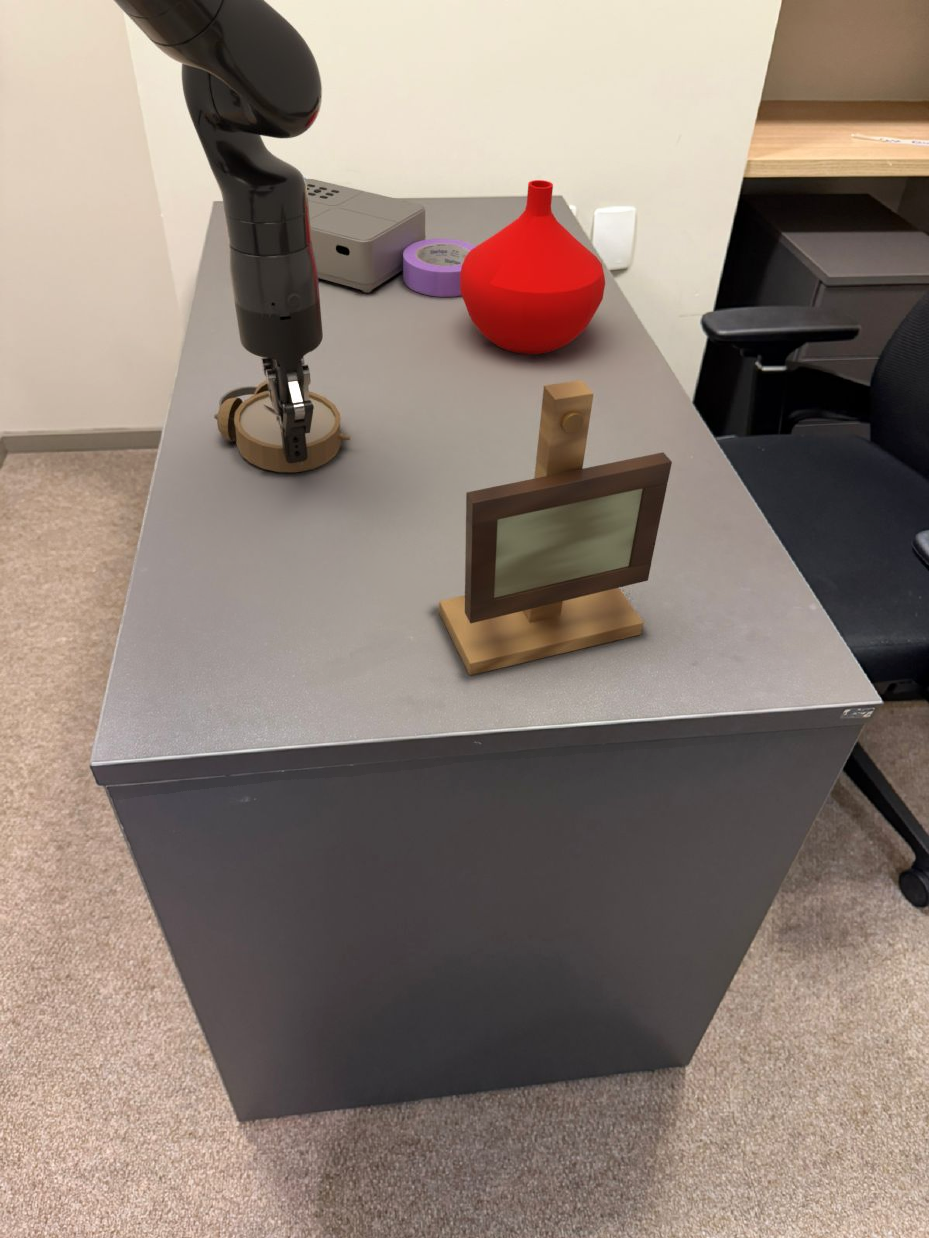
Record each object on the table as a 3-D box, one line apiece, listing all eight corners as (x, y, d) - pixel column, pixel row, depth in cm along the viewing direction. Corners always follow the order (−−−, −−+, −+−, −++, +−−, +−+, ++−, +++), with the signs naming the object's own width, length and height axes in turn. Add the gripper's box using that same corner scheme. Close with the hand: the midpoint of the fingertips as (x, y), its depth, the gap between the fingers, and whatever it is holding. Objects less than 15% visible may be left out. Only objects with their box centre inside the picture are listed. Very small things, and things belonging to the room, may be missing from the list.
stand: (469, 676, 74) (482, 436, 58) (438, 613, 80) (443, 378, 64) (640, 634, 78) (696, 401, 63) (601, 577, 84) (642, 348, 68)
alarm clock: (288, 464, 90) (188, 391, 95) (286, 500, 94) (191, 428, 99) (364, 420, 97) (267, 353, 101) (360, 455, 101) (267, 389, 105)
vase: (563, 300, 127) (579, 155, 114) (620, 360, 115) (646, 205, 102) (440, 315, 123) (442, 165, 109) (486, 379, 110) (494, 219, 97)
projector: (311, 227, 144) (306, 175, 138) (429, 257, 137) (429, 204, 131) (244, 262, 133) (237, 208, 128) (368, 297, 126) (366, 241, 120)
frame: (470, 623, 72) (472, 503, 63) (464, 612, 73) (466, 492, 64) (648, 580, 76) (672, 461, 67) (640, 570, 77) (663, 451, 68)
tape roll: (491, 295, 128) (492, 268, 125) (410, 299, 126) (410, 272, 123) (473, 262, 136) (474, 236, 133) (397, 266, 134) (397, 240, 131)
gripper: (223, 268, 83) (248, 431, 95) (246, 329, 74) (271, 501, 86) (302, 260, 85) (318, 421, 97) (334, 318, 76) (347, 488, 88)
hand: (296, 458), depth 92 cm, fingers closed
